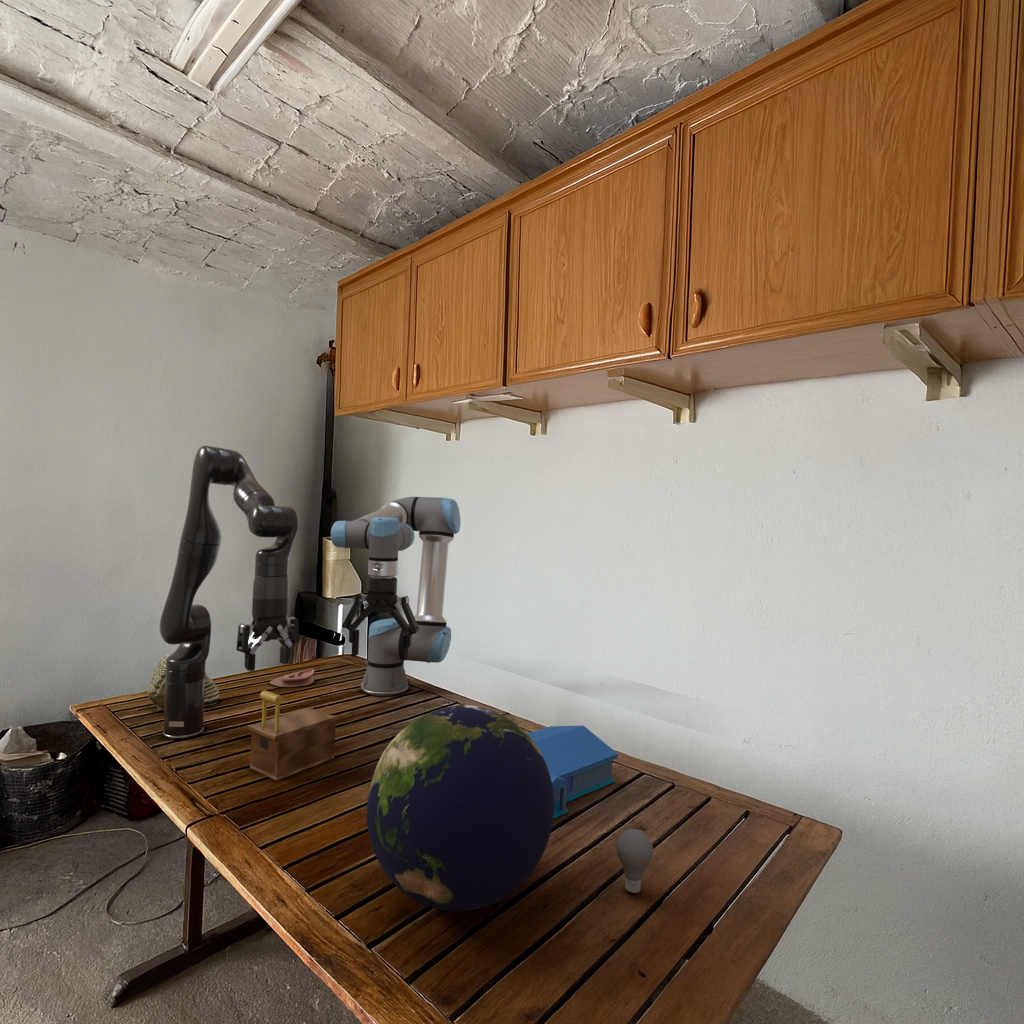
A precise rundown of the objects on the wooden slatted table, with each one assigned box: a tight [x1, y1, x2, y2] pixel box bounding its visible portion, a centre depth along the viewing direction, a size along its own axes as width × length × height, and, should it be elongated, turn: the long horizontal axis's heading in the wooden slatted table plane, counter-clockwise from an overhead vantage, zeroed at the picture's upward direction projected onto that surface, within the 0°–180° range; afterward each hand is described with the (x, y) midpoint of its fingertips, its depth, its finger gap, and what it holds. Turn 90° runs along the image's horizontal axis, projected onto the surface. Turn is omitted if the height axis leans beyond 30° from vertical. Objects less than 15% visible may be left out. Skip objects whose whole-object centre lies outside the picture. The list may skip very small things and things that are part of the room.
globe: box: [366, 704, 554, 913], centre depth 102 cm, size 30×30×30 cm
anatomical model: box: [269, 668, 315, 688], centre depth 212 cm, size 13×4×12 cm
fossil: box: [147, 654, 221, 712], centre depth 185 cm, size 9×18×15 cm, turn 132°
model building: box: [526, 725, 619, 820], centre depth 140 cm, size 39×24×10 cm, turn 132°
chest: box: [249, 721, 337, 781], centre depth 150 cm, size 16×10×9 cm, turn 146°
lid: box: [247, 690, 337, 741], centre depth 149 cm, size 17×10×9 cm, turn 146°
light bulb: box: [615, 828, 654, 894], centre depth 106 cm, size 6×6×10 cm
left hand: (267, 666), depth 142 cm, fingers open, 8 cm apart
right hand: (379, 657), depth 165 cm, fingers open, 13 cm apart
